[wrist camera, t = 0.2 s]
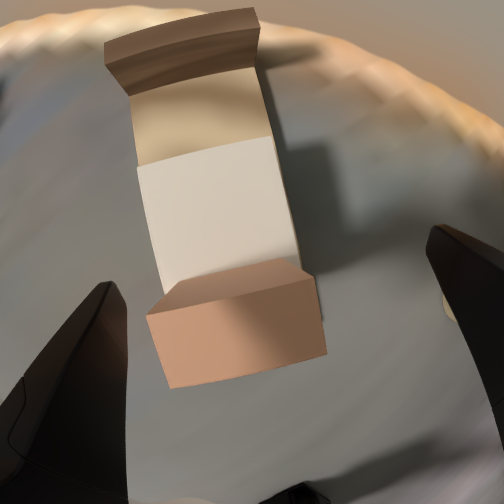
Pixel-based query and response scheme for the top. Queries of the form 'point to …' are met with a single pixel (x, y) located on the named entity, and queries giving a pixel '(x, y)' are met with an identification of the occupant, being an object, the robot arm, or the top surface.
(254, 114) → the tan cardboard slab
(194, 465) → the top surface
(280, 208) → the brown piece
